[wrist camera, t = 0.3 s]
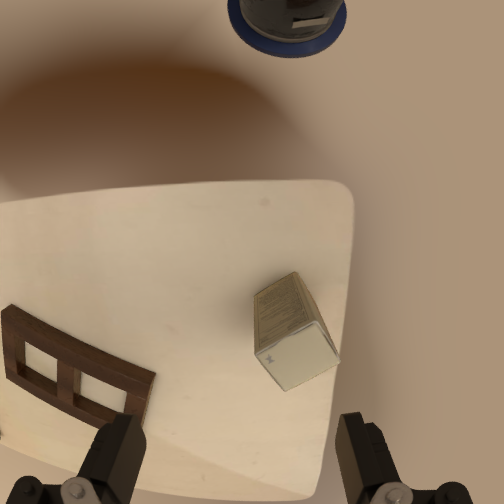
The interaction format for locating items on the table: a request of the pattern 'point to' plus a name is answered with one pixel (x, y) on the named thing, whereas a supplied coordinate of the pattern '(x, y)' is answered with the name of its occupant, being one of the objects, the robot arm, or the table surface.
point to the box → (291, 334)
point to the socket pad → (70, 369)
